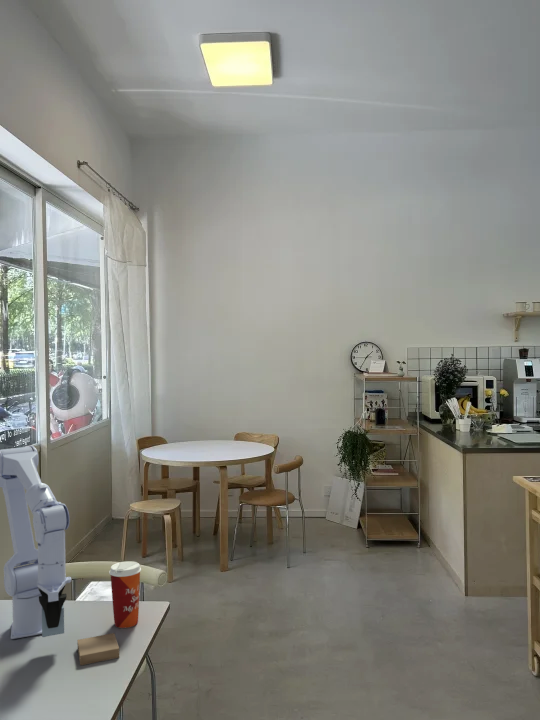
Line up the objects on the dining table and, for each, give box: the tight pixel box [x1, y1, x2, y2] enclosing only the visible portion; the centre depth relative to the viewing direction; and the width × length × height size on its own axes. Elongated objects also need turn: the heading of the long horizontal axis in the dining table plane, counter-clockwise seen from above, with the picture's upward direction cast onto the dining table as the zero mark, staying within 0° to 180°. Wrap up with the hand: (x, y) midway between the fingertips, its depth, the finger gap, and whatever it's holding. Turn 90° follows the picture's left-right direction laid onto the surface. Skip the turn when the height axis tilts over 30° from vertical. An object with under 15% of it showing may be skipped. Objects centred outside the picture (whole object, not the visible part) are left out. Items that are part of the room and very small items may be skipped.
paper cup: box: [108, 560, 142, 629], centre depth 143 cm, size 8×8×14 cm
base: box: [77, 632, 120, 666], centre depth 128 cm, size 8×8×2 cm
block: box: [41, 604, 65, 638], centre depth 130 cm, size 4×4×6 cm
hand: (52, 622), depth 130 cm, fingers closed on block, 4 cm apart
